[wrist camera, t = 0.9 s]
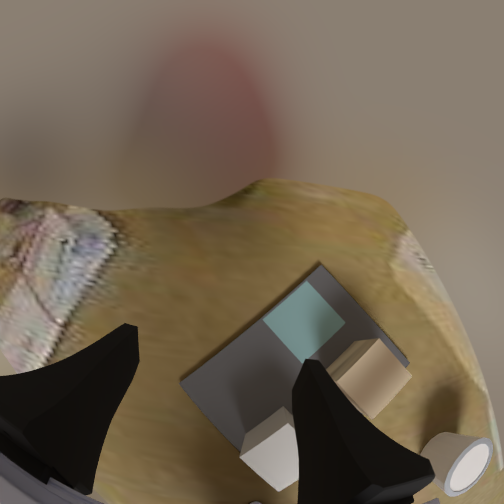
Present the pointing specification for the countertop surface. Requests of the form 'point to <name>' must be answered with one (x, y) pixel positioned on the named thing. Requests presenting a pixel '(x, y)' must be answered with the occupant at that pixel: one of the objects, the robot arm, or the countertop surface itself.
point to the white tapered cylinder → (457, 460)
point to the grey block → (273, 450)
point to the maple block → (369, 375)
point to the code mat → (279, 355)
